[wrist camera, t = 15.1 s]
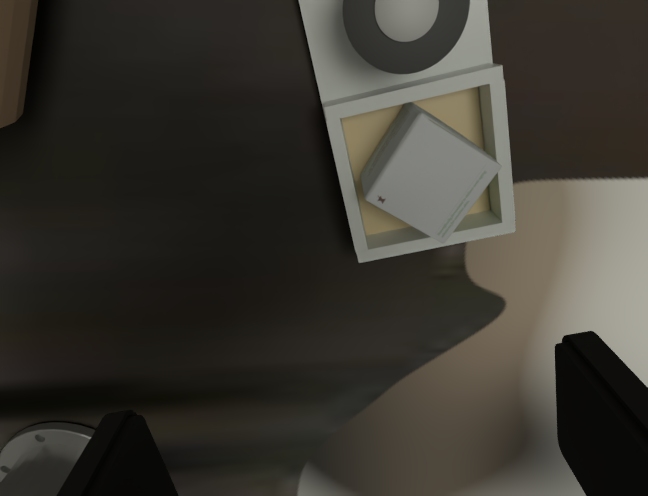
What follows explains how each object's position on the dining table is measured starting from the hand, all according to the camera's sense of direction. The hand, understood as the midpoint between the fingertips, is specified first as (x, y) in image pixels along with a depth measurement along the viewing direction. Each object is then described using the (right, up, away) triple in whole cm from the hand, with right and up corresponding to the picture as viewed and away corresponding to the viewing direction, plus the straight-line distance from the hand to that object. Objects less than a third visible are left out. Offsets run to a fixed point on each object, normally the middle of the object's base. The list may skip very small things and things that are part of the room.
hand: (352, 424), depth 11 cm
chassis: (+4, +13, +20) cm, 24 cm away
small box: (+5, +10, +20) cm, 23 cm away
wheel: (+3, +17, +16) cm, 24 cm away
